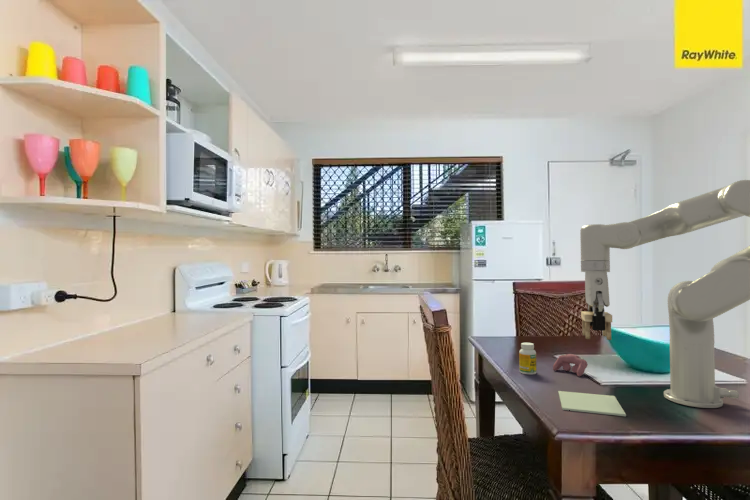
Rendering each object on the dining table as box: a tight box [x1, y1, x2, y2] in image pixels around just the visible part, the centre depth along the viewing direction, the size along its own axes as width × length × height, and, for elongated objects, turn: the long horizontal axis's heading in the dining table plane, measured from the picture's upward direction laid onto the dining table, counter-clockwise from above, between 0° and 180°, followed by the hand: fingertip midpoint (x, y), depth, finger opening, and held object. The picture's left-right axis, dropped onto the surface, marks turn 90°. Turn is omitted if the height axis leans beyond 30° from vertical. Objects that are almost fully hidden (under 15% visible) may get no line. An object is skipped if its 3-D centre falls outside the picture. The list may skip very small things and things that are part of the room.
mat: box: [557, 390, 627, 417], centre depth 111 cm, size 14×14×1 cm
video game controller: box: [552, 353, 588, 377], centre depth 140 cm, size 10×5×7 cm, turn 35°
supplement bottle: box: [518, 342, 538, 376], centre depth 140 cm, size 5×5×10 cm
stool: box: [580, 310, 613, 341], centre depth 123 cm, size 7×7×7 cm
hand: (596, 327), depth 123 cm, fingers closed on stool, 7 cm apart
